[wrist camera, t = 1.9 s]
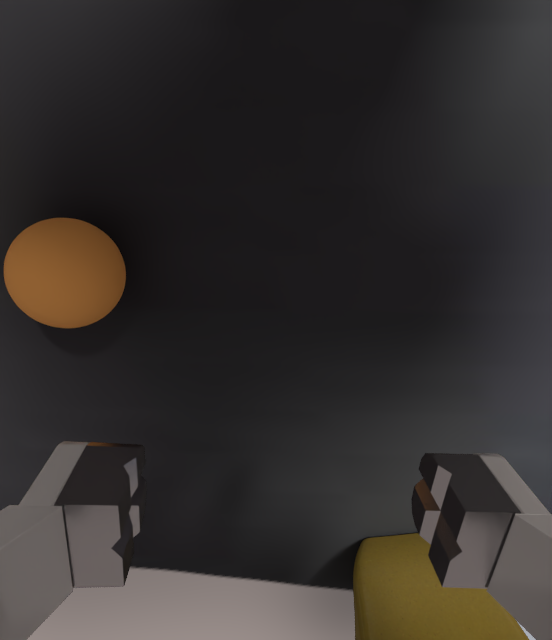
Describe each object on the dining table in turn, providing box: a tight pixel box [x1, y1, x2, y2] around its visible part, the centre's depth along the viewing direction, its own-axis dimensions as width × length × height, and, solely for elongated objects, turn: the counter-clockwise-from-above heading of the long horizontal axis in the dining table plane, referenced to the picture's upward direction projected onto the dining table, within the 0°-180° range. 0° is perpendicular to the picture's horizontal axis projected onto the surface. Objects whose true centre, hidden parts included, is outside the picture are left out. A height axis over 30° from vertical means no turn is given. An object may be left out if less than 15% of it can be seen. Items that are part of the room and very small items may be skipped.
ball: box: [4, 218, 126, 328], centre depth 20 cm, size 5×5×5 cm
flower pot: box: [353, 533, 529, 640], centre depth 27 cm, size 9×9×9 cm
